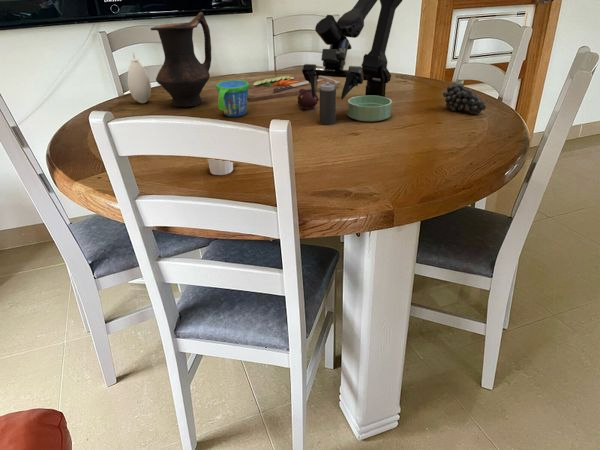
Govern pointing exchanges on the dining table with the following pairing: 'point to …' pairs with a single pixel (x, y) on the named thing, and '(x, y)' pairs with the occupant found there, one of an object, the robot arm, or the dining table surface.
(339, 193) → the dining table surface
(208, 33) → the jug
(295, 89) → the chopping board
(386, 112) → the bowl
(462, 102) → the fruit
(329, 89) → the pepper mill
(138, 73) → the teardrop candle
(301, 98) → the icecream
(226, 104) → the snack cup
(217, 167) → the shot glass
